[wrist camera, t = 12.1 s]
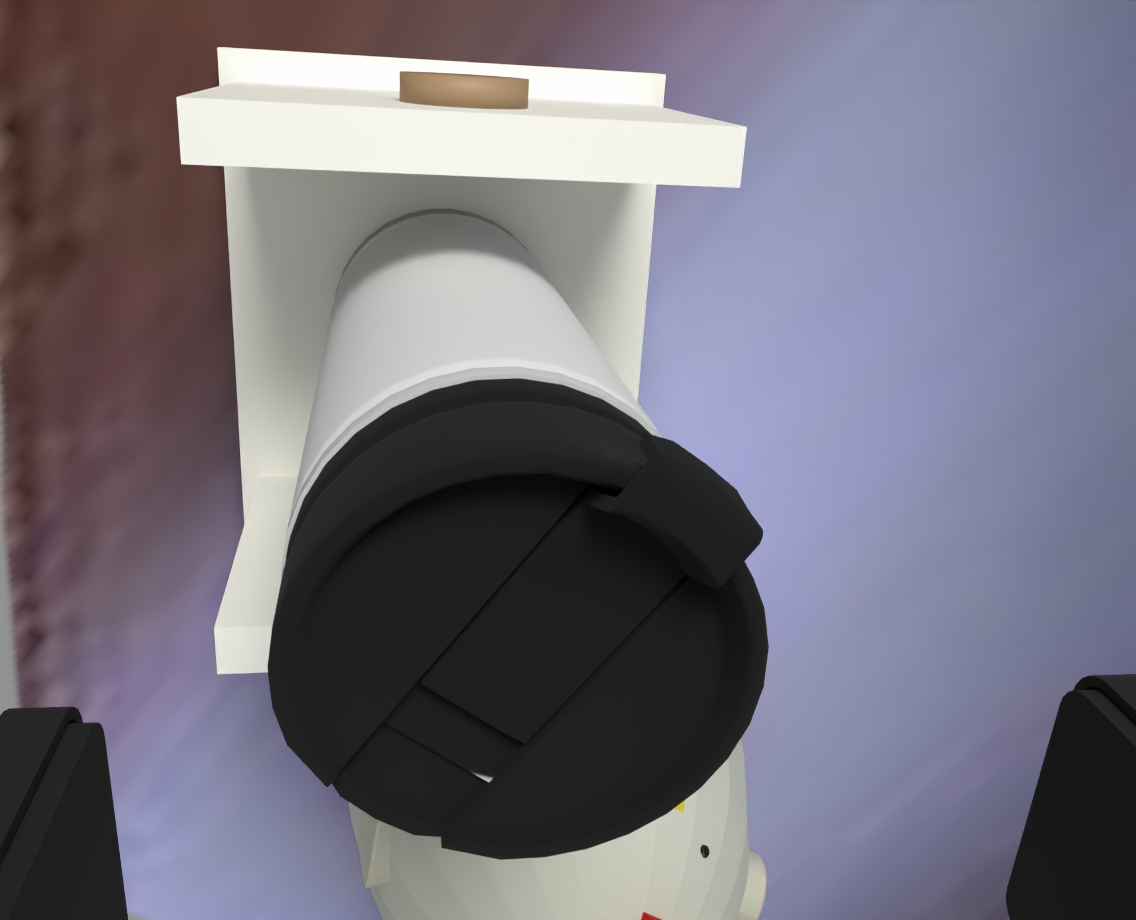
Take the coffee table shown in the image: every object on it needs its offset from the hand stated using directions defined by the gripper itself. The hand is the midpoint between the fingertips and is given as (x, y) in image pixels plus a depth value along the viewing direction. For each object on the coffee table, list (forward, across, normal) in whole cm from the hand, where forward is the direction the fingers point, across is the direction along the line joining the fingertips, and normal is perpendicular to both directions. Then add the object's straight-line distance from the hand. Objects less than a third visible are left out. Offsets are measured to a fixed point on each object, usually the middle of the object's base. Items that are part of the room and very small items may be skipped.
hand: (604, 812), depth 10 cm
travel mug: (+22, +1, +1) cm, 23 cm away
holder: (+24, +1, +1) cm, 24 cm away
